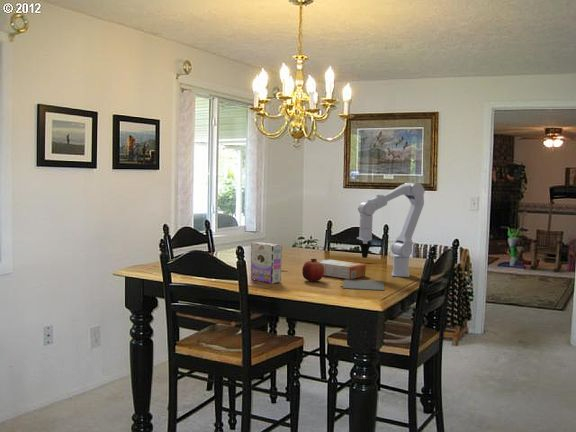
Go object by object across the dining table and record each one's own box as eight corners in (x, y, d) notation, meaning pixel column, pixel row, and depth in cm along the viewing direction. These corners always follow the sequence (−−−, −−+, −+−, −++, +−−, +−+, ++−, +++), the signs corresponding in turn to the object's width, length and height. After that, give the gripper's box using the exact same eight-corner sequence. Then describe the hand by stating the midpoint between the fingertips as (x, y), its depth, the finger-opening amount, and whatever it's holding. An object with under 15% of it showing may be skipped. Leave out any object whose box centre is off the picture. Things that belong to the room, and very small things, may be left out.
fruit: (306, 278, 273) (306, 256, 272) (327, 280, 269) (328, 258, 268) (297, 282, 263) (298, 259, 262) (319, 284, 259) (320, 261, 259)
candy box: (281, 282, 261) (282, 244, 260) (271, 284, 257) (272, 245, 256) (260, 278, 271) (261, 241, 269) (250, 279, 267) (250, 242, 265)
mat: (344, 280, 272) (344, 279, 272) (383, 282, 270) (383, 281, 270) (342, 288, 252) (342, 287, 252) (384, 290, 250) (384, 289, 250)
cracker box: (365, 277, 283) (328, 270, 296) (366, 264, 282) (329, 258, 295) (349, 280, 272) (311, 273, 285) (350, 267, 271) (312, 260, 284)
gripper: (357, 226, 287) (356, 255, 289) (356, 229, 273) (355, 259, 274) (372, 227, 287) (371, 255, 288) (372, 230, 272) (371, 260, 273)
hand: (364, 257), depth 281 cm, fingers closed
